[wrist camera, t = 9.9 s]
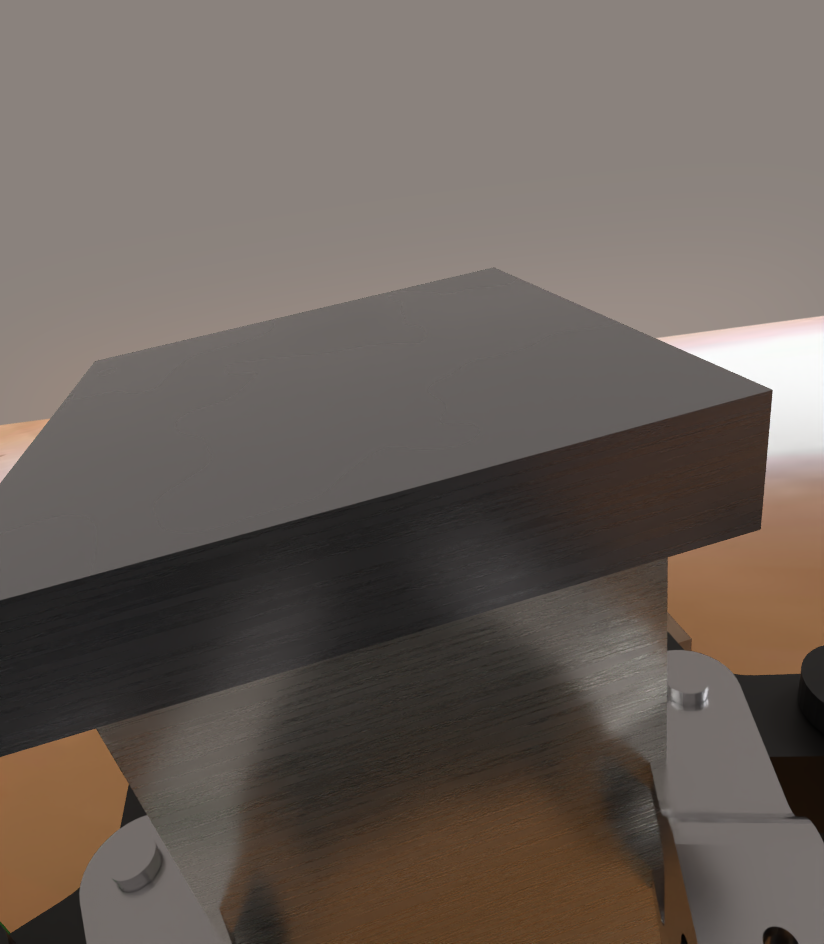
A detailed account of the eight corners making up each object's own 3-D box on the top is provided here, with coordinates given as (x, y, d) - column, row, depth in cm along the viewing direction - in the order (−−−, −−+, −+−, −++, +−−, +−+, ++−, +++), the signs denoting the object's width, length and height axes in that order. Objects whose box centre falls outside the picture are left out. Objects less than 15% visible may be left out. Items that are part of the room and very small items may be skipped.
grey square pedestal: (308, 859, 15) (94, 361, 9) (553, 777, 15) (493, 267, 10) (340, 1248, 9) (-116, 630, 4) (711, 1098, 10) (773, 389, 5)
